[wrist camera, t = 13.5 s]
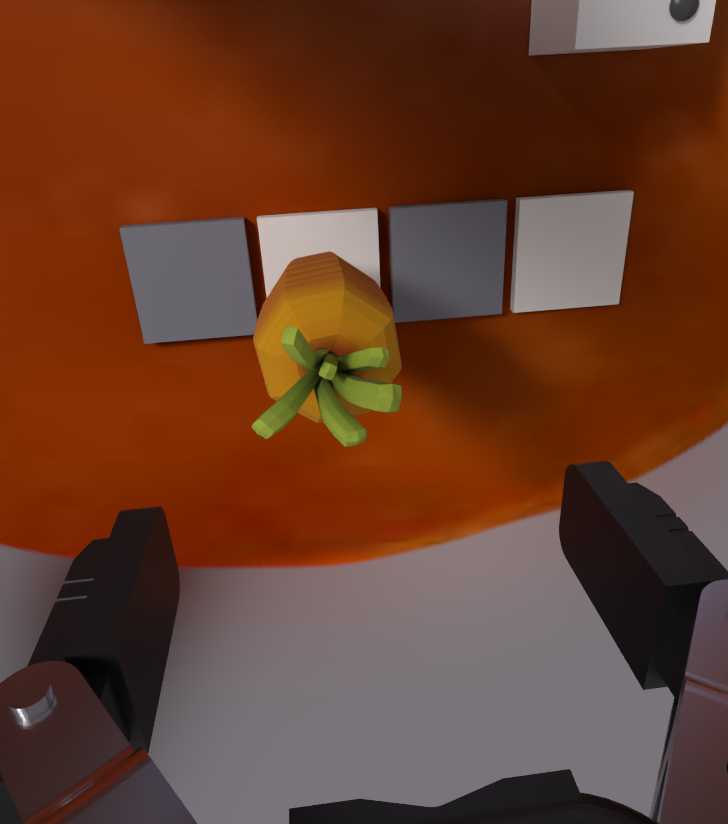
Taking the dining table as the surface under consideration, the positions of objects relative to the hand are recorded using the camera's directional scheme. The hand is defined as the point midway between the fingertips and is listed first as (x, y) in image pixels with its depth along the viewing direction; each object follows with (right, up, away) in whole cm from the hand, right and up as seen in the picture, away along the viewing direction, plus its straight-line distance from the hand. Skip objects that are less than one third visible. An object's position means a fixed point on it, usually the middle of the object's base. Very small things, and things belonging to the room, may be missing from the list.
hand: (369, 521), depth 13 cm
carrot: (-2, +9, +17) cm, 20 cm away
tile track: (+1, +9, +18) cm, 20 cm away
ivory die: (+9, +20, +14) cm, 26 cm away
